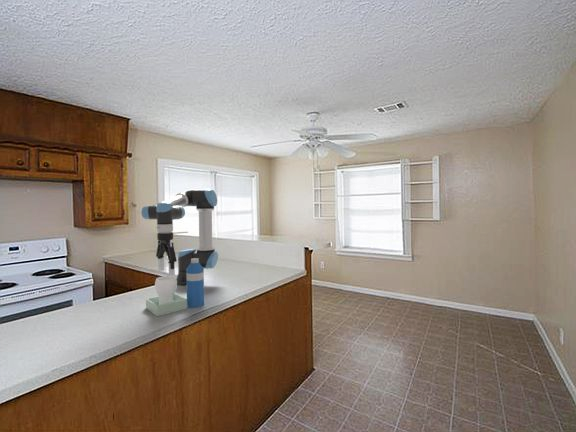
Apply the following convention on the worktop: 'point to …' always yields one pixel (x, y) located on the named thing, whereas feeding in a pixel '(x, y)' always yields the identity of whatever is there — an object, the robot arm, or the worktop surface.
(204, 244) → the robot arm
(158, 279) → the cup
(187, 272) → the water bottle
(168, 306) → the dish rack
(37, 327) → the worktop surface
